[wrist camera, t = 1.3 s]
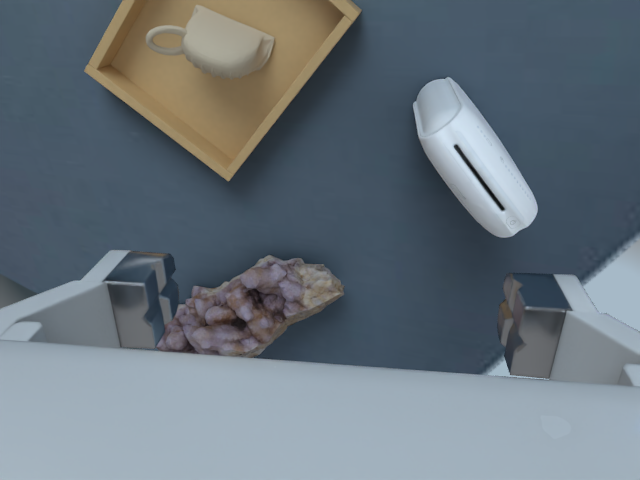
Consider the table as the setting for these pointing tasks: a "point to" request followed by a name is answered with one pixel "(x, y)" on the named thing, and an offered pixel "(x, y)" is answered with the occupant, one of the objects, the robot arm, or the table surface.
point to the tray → (214, 92)
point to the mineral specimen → (250, 308)
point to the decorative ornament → (217, 44)
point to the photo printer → (472, 159)
